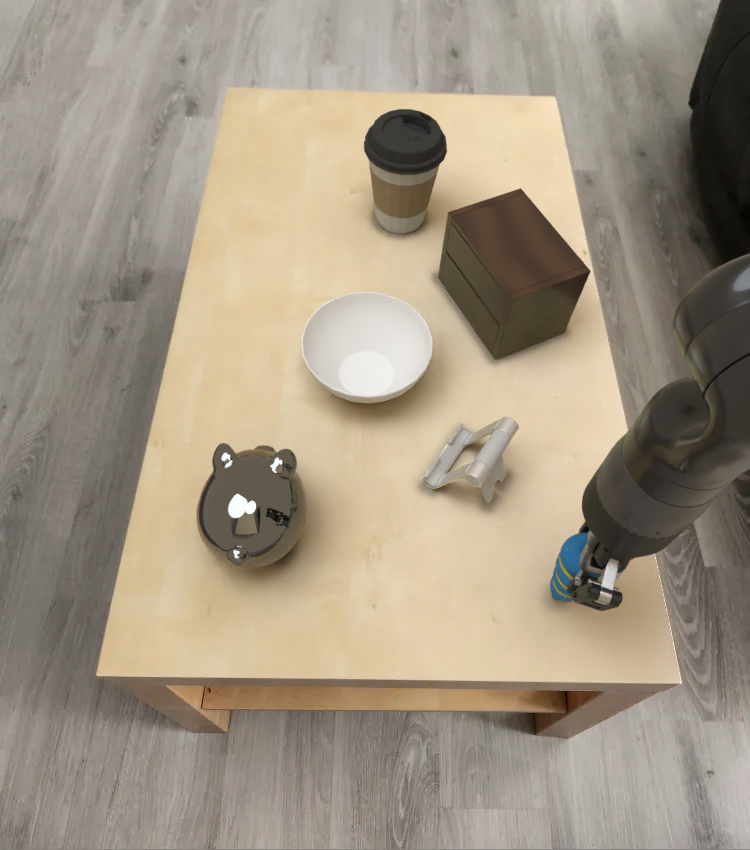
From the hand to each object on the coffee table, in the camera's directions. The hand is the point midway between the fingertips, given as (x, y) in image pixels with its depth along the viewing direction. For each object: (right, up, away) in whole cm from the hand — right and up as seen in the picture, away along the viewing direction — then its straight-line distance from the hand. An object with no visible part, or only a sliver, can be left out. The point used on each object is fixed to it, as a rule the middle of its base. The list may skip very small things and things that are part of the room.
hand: (583, 564), depth 65 cm
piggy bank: (-33, +2, +13) cm, 35 cm away
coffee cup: (-16, +45, +38) cm, 61 cm away
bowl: (-21, +20, +24) cm, 37 cm away
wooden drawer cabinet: (-2, +30, +30) cm, 43 cm away
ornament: (0, -5, +9) cm, 11 cm away
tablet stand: (-9, +7, +17) cm, 20 cm away
